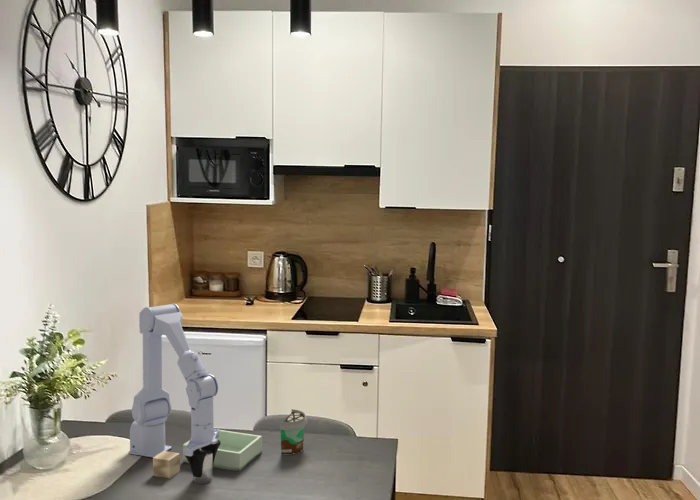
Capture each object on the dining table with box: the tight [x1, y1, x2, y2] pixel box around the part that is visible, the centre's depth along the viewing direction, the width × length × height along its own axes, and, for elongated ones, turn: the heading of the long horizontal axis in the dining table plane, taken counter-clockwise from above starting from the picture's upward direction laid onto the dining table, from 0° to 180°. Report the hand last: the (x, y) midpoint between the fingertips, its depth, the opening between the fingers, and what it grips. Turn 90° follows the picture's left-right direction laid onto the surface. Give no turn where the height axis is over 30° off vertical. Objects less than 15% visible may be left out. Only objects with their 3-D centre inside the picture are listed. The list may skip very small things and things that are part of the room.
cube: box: [152, 450, 181, 479], centre depth 186 cm, size 5×5×5 cm
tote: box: [182, 429, 263, 472], centre depth 196 cm, size 18×14×5 cm
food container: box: [279, 409, 308, 455], centre depth 203 cm, size 12×6×10 cm, turn 168°
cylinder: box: [192, 450, 214, 485], centre depth 182 cm, size 5×5×7 cm
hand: (202, 472), depth 182 cm, fingers closed on cylinder, 5 cm apart
